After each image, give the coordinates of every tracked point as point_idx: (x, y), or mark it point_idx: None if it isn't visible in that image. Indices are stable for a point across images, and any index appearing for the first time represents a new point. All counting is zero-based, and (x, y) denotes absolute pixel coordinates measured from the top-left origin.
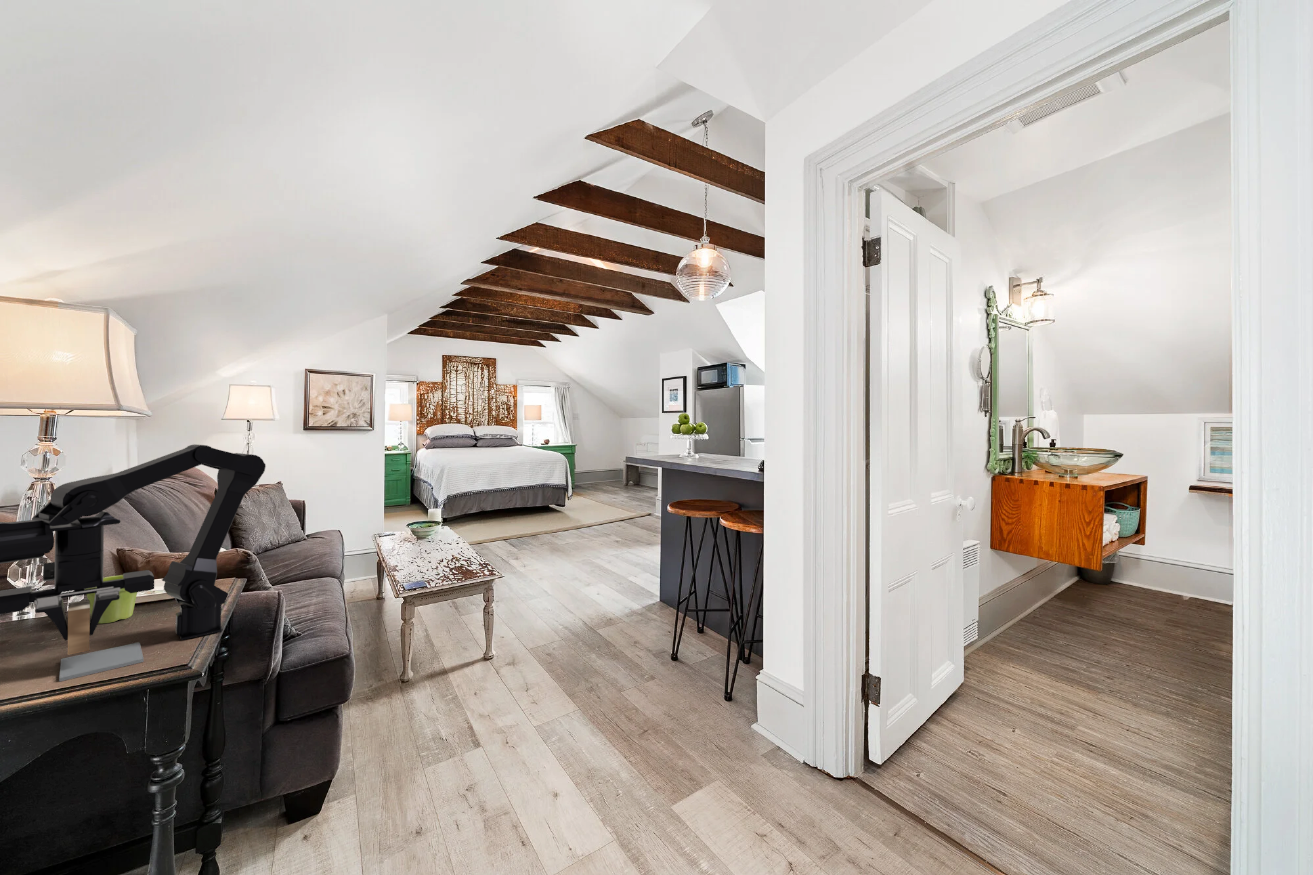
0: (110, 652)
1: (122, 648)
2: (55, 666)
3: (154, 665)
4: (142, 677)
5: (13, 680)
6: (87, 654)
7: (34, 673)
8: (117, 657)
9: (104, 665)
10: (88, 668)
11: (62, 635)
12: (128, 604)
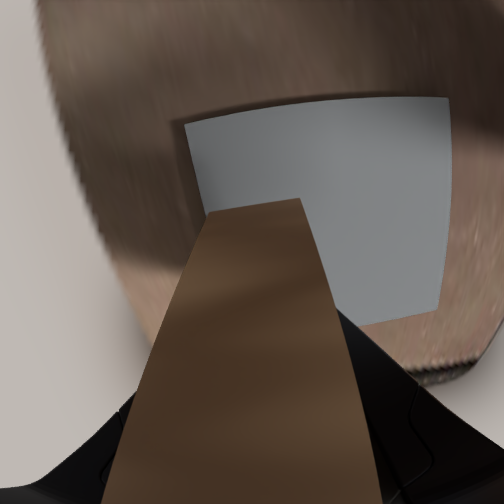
0: (363, 164)
1: (400, 141)
2: (182, 169)
3: (440, 340)
4: None
5: (105, 244)
6: (279, 128)
7: (138, 210)
8: (384, 251)
9: (347, 308)
10: None
11: None
12: None
